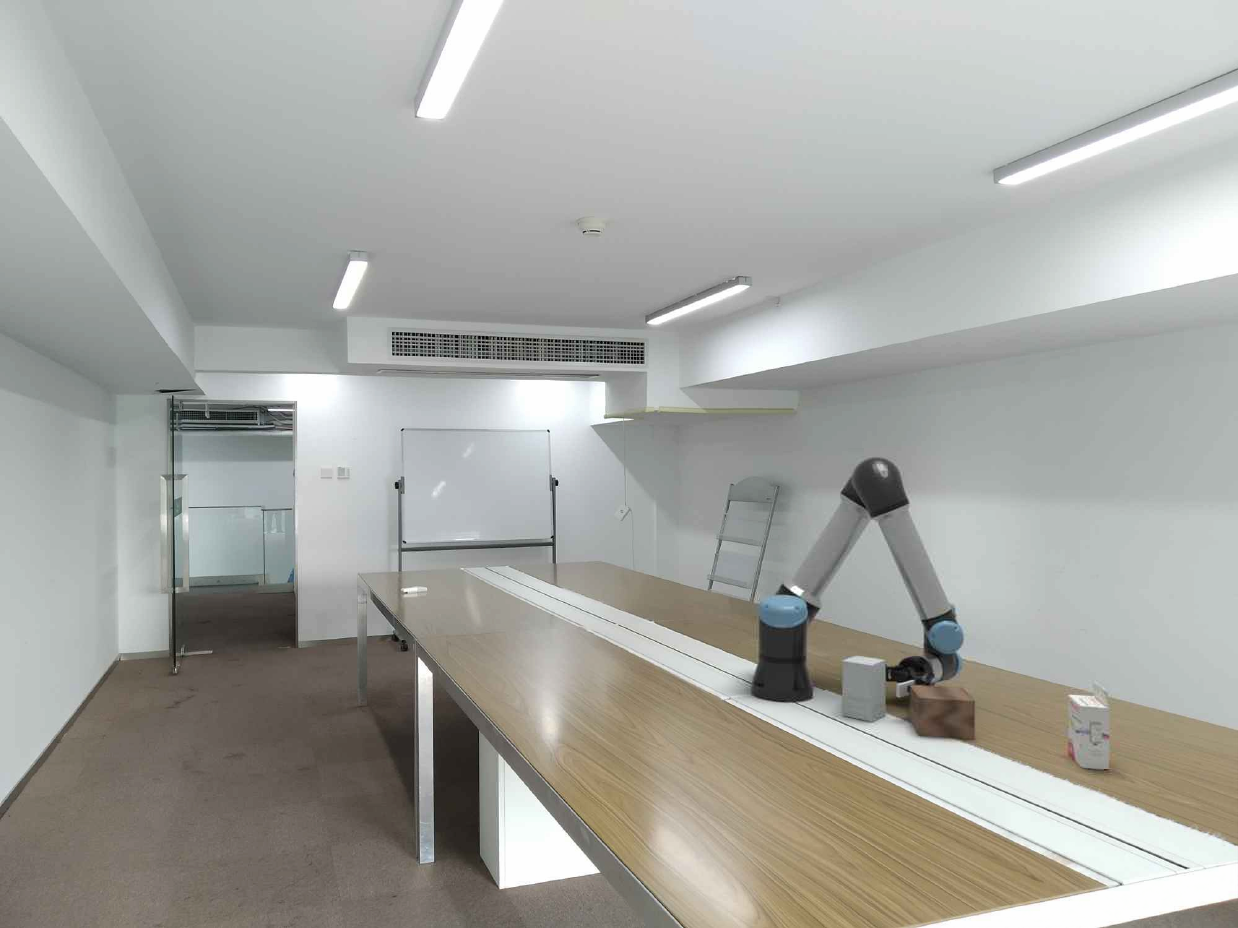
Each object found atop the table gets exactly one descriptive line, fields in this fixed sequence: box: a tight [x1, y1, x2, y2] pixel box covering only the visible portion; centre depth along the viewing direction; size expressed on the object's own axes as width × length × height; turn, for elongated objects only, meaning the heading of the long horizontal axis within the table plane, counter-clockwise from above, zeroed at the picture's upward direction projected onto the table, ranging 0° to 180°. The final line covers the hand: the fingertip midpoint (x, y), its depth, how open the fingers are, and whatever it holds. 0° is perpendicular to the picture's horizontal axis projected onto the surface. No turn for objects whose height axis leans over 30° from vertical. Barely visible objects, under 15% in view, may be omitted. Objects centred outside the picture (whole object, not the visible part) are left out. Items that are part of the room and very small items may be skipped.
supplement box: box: [841, 655, 887, 723], centre depth 190 cm, size 7×7×13 cm
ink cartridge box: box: [1067, 680, 1110, 770], centre depth 161 cm, size 9×5×15 cm, turn 168°
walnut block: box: [909, 685, 976, 740], centre depth 180 cm, size 11×11×8 cm
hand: (870, 684), depth 190 cm, fingers open, 13 cm apart
